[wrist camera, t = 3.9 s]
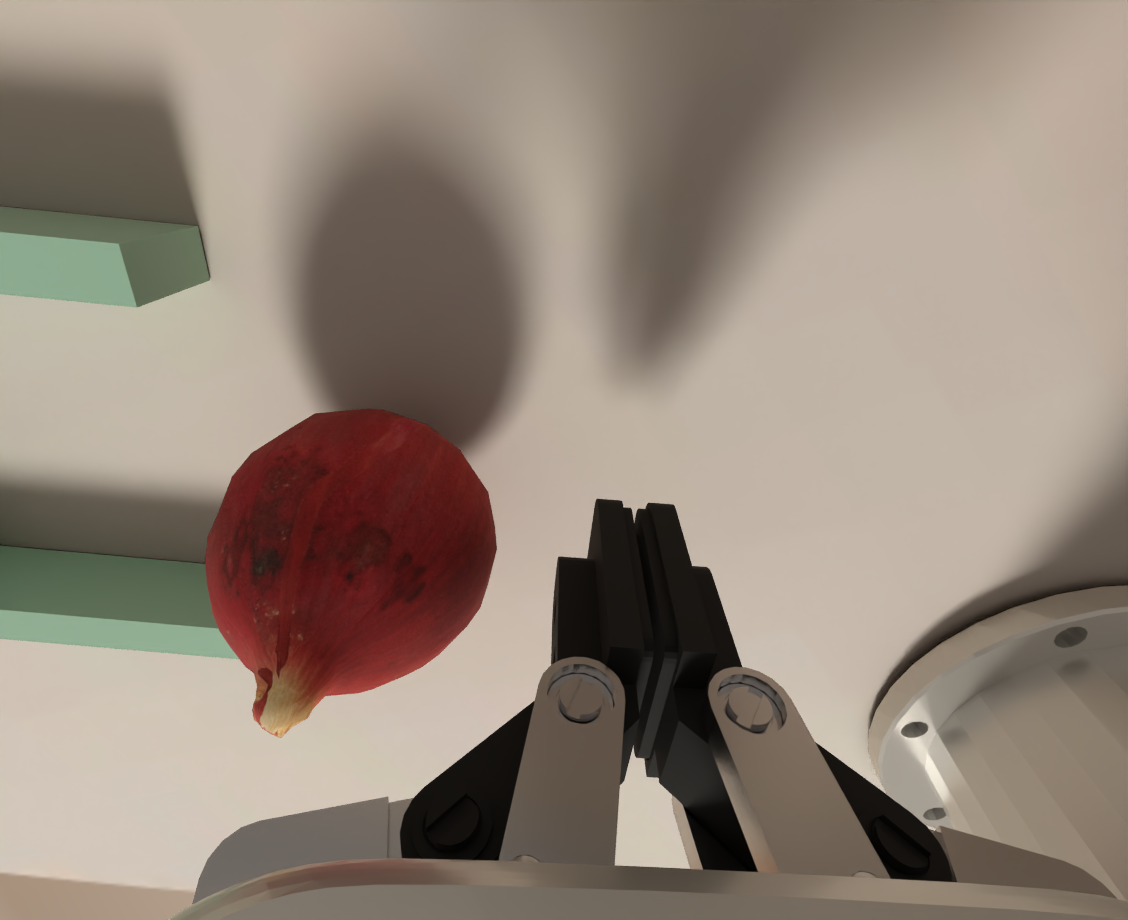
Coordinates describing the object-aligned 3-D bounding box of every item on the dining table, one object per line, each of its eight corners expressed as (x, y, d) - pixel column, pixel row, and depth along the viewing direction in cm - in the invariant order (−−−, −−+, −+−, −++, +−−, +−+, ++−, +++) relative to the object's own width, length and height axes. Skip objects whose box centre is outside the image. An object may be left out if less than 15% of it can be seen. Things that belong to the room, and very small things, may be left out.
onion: (270, 375, 14) (-18, 591, 8) (488, 348, 14) (394, 553, 7) (344, 551, 17) (184, 826, 10) (527, 533, 17) (488, 811, 10)
